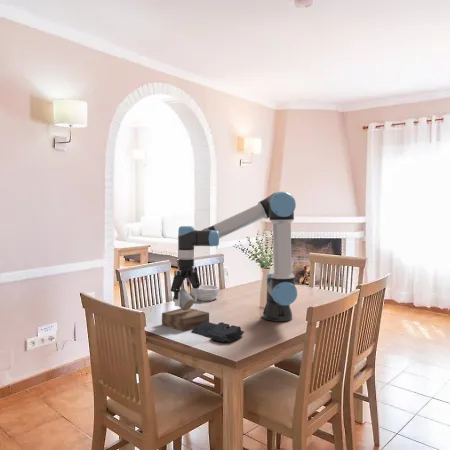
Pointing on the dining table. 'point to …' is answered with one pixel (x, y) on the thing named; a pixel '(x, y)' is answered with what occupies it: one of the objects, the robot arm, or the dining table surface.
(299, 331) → the dining table surface
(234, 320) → the dining table surface
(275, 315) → the robot arm
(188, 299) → the ceramic mug
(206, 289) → the paper bowls
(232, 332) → the black flat crumpled piece
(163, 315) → the walnut riser block
